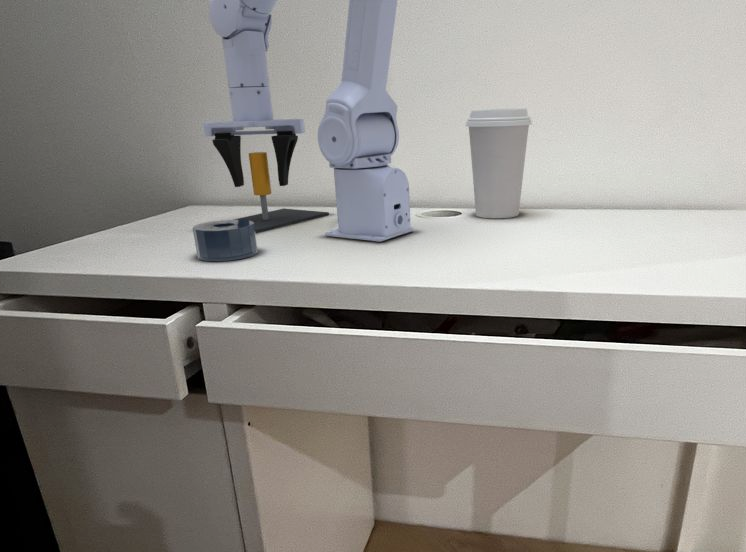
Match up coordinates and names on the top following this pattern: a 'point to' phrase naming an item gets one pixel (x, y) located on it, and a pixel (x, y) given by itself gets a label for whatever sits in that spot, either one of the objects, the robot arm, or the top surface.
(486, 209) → the coffee cup
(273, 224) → the mat
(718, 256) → the top surface
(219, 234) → the squat holed cylinder
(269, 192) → the screwdriver
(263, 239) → the top surface
